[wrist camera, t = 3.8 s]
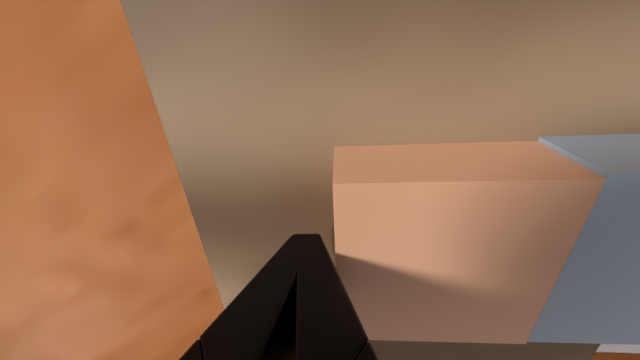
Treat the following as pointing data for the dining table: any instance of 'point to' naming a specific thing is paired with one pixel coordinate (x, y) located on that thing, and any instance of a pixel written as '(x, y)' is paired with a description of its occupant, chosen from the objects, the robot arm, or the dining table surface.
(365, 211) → the terracotta tile
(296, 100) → the walnut board
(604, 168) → the slate tile
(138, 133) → the dining table surface
